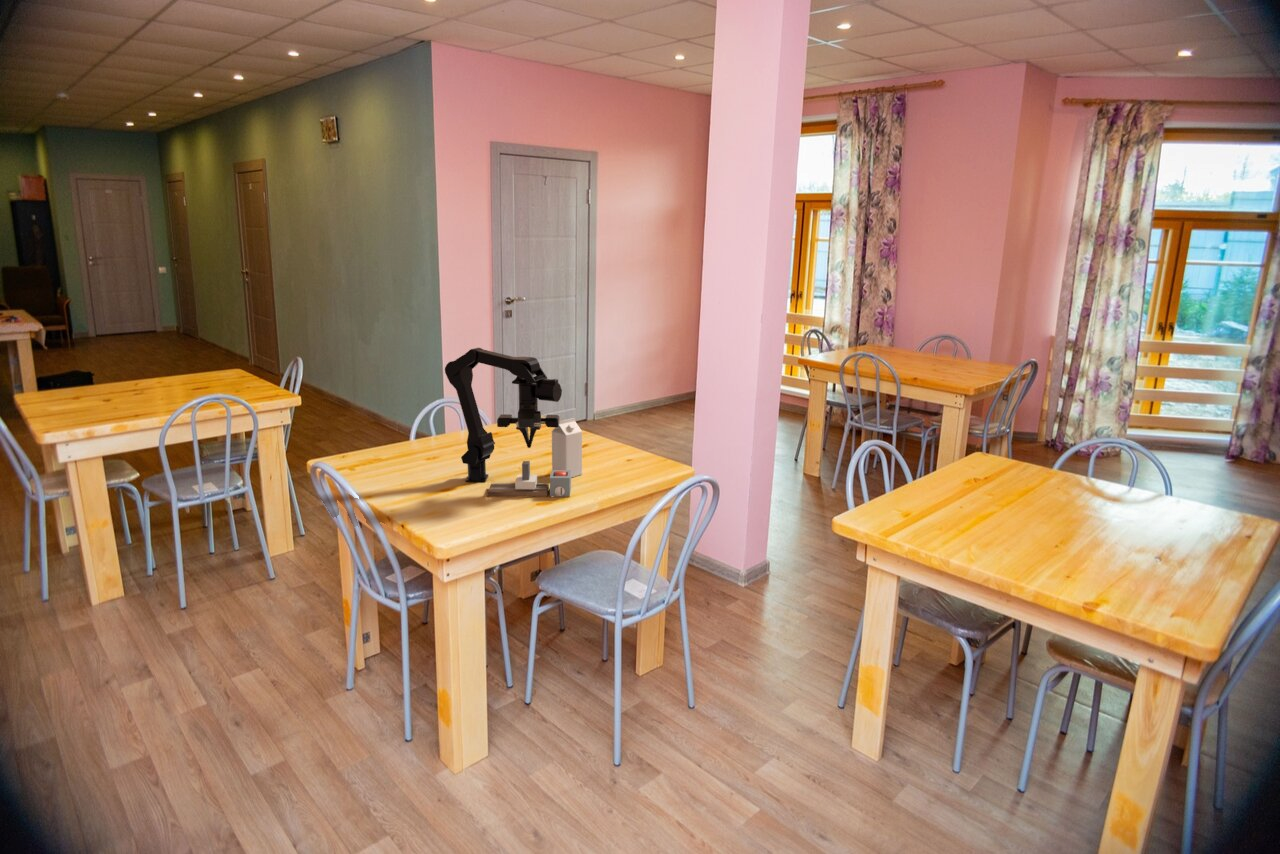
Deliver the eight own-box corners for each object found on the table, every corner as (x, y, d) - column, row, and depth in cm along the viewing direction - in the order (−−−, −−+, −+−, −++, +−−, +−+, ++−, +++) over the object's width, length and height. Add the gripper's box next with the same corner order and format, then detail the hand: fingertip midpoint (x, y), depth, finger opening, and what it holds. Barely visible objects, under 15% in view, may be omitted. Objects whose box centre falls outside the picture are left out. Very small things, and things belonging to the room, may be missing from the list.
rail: (491, 488, 239) (491, 481, 239) (548, 488, 240) (548, 481, 239) (487, 496, 231) (487, 489, 231) (546, 496, 232) (546, 490, 231)
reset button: (555, 479, 237) (555, 470, 236) (566, 480, 237) (566, 470, 236) (554, 483, 233) (554, 474, 233) (566, 483, 234) (566, 474, 233)
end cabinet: (552, 488, 240) (551, 470, 238) (571, 488, 240) (570, 470, 239) (549, 497, 232) (549, 478, 230) (569, 497, 232) (569, 478, 230)
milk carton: (552, 474, 253) (551, 419, 249) (568, 470, 258) (567, 415, 254) (566, 479, 249) (565, 423, 244) (582, 474, 254) (582, 419, 249)
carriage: (518, 481, 238) (517, 459, 237) (537, 482, 239) (536, 459, 237) (515, 489, 232) (514, 465, 230) (535, 489, 232) (534, 466, 230)
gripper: (493, 404, 225) (495, 454, 229) (556, 404, 226) (557, 455, 230) (499, 396, 236) (500, 444, 240) (559, 396, 237) (559, 445, 241)
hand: (529, 447), depth 237 cm, fingers closed
